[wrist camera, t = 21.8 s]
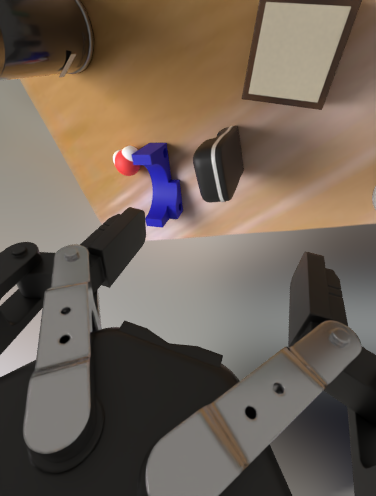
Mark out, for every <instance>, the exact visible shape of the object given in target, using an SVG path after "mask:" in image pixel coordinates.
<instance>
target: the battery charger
mask: <svg viewBox="0 0 376 496" xmlns="http://www.w3.org/2000/svg"><path fill="white" fill-rule="evenodd" d="M193 164H194V168H195V172H196V177H197V181H198V185H199V189H200V193H201V196H202V198H203V199H204V200H205V201H206V202H220V201H221V202H226V201H229V200H231V198H232V197H233V194H234V192H235V190H236V188H237V185H238V183H239V180H240V177H241V175H242V173H243V171H244V168H243V160H242V153H241V145H240V138H239V131H238V127H237V126H230V127H228V128H224V129H222V130H221V131H219V133H218V134H217V137H216V138H214V139H209V140H206V141H205V142H203V143H202V144H201V145H200V146H199V147H198V149H197V150H196V152H195V153H194V156H193Z"/></svg>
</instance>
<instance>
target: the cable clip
mask: <svg viewBox="0 0 376 496" xmlns="http://www.w3.org/2000/svg"><path fill="white" fill-rule="evenodd" d="M131 155H132V160H133V165H144V166H145V167H146V168H147V170H148V171H149V173H150V176H151V180H152V185H153V199H152V204H151V208H150V211H149V213H148V215H147V216H146V218H145V220H146V224H147V226H154V227H163V226H164V225H165V224H166V222H167V221H168V220H169V219H178V218H179V216H180V215H181V213H182V212H183V206H182V197H181V188H180V180H172V179H171V172H170V165H169V157H168V150H167V143H149V144H147V145H146V146H144V147H142V148H141V149H139V150H138V151H136V152H135V153H133V154H131Z"/></svg>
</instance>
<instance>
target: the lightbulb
mask: <svg viewBox="0 0 376 496" xmlns="http://www.w3.org/2000/svg"><path fill="white" fill-rule="evenodd" d="M372 201H373V205H374V208H375V210H376V186H375V188H374V191H373V196H372Z"/></svg>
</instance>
